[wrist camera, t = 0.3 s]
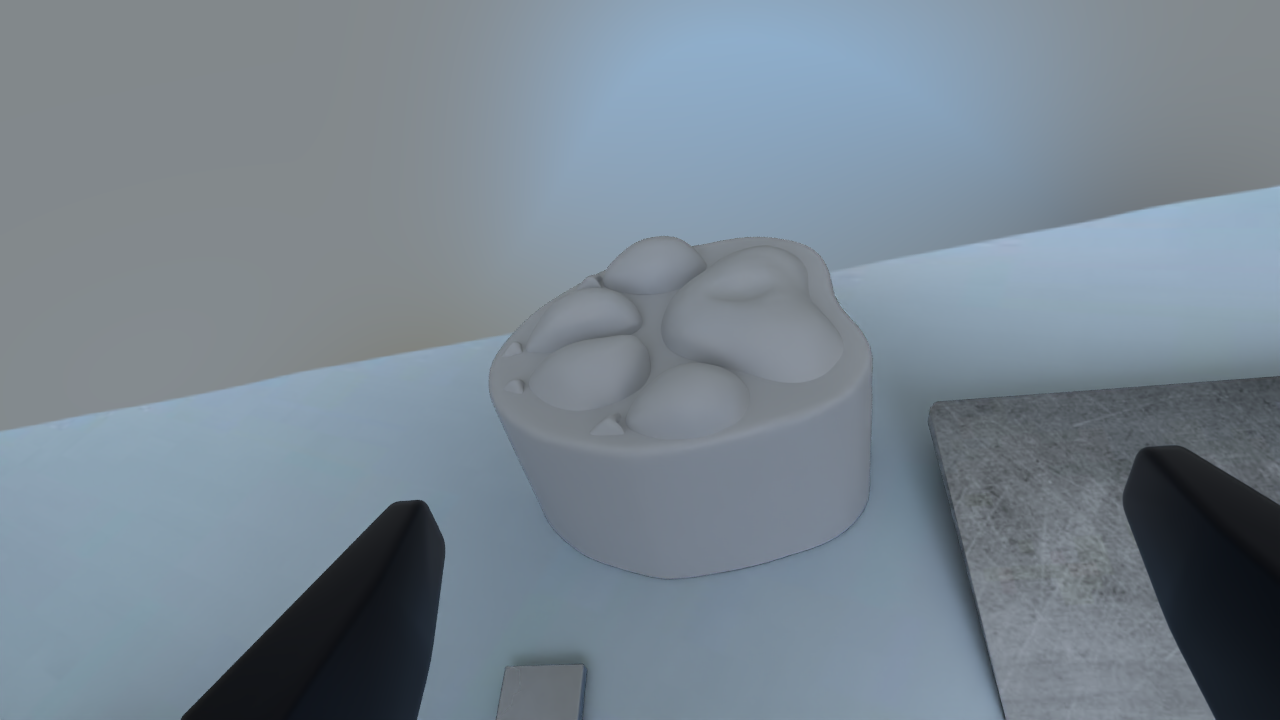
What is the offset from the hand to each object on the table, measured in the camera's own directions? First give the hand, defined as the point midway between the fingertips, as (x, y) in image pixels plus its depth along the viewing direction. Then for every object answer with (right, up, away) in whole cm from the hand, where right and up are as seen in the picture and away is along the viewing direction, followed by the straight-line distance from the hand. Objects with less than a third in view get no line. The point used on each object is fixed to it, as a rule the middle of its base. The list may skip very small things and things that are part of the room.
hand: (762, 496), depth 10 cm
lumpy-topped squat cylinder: (+1, -3, +22) cm, 22 cm away
